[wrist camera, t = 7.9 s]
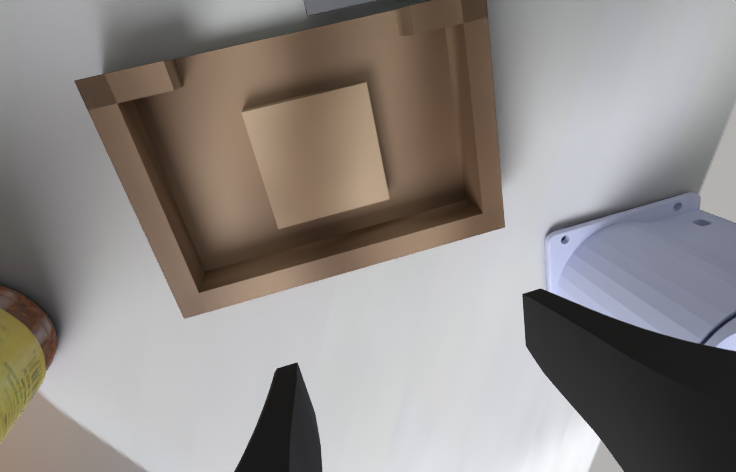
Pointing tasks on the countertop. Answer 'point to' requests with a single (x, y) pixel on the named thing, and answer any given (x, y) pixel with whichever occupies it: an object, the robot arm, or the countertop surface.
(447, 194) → the parts box
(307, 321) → the countertop surface
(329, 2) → the rubber mat
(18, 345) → the sauce bottle
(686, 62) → the countertop surface
